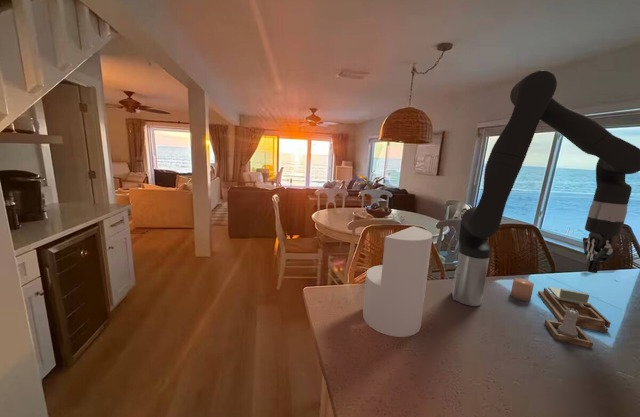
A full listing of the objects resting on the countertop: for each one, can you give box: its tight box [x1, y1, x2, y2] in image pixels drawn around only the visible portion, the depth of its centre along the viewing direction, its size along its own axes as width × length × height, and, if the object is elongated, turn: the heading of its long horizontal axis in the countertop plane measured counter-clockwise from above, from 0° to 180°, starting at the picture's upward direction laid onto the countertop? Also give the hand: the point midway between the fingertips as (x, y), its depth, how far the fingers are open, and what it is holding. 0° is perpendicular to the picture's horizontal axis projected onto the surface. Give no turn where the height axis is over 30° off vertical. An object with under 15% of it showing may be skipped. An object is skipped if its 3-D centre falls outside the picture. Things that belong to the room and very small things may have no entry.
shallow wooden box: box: [537, 287, 611, 334], centre depth 89 cm, size 12×20×3 cm, turn 157°
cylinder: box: [362, 225, 433, 338], centre depth 79 cm, size 17×17×28 cm
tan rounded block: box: [510, 277, 535, 302], centre depth 98 cm, size 6×6×6 cm
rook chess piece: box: [556, 308, 580, 338], centre depth 76 cm, size 4×4×8 cm
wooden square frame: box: [544, 318, 594, 349], centre depth 77 cm, size 8×8×2 cm
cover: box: [547, 286, 592, 305], centre depth 92 cm, size 8×8×4 cm
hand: (591, 271), depth 82 cm, fingers closed
